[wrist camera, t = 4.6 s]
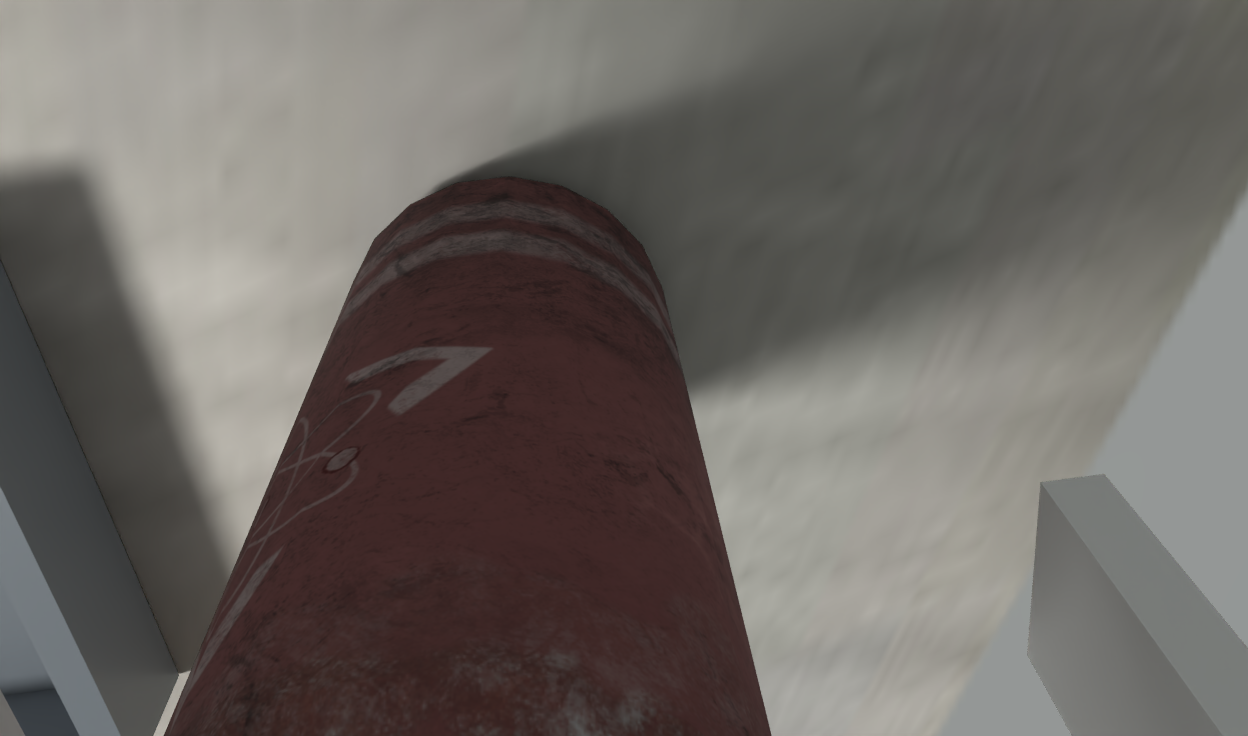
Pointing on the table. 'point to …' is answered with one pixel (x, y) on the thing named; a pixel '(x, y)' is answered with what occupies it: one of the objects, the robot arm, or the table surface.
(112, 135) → the table surface
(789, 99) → the table surface
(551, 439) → the can
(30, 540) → the tray
